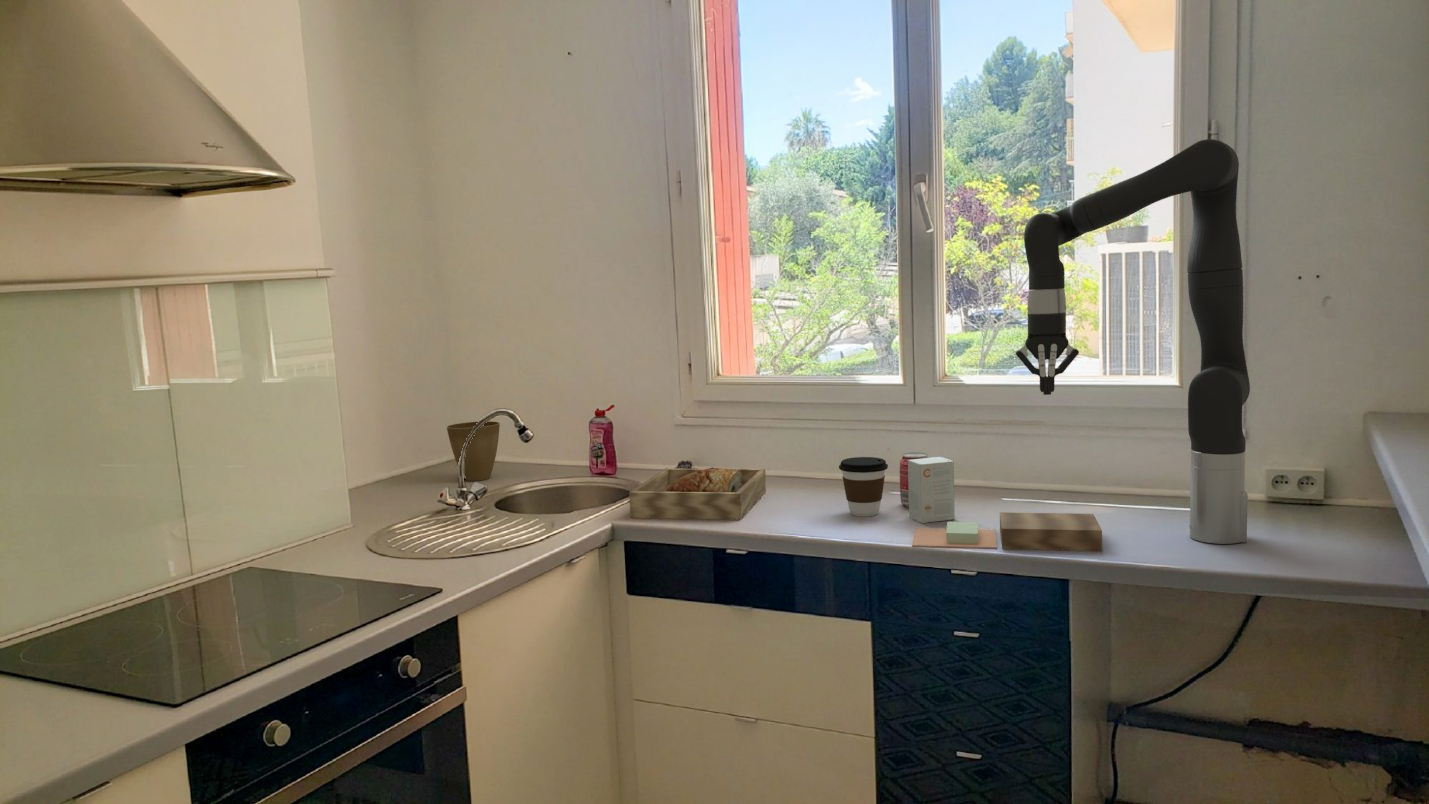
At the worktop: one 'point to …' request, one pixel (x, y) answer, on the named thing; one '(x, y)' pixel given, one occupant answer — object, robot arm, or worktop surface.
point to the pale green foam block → (962, 532)
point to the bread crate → (695, 498)
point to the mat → (939, 540)
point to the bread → (708, 481)
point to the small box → (931, 489)
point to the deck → (1050, 531)
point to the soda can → (904, 474)
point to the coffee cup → (863, 484)
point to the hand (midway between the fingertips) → (1046, 394)
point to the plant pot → (475, 448)
